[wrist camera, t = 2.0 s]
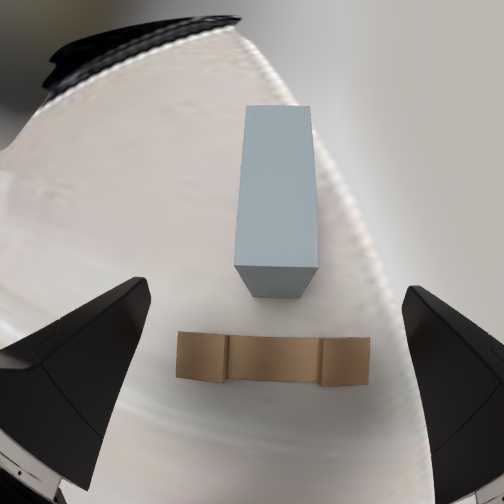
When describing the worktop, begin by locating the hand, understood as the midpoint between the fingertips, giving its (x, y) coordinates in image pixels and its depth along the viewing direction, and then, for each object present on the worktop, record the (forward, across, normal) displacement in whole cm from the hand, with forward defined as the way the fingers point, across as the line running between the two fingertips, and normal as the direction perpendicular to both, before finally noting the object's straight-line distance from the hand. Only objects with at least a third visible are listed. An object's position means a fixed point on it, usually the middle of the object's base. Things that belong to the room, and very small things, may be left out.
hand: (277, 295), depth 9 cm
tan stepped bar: (+7, 0, +11) cm, 13 cm away
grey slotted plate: (+13, 0, +4) cm, 14 cm away
